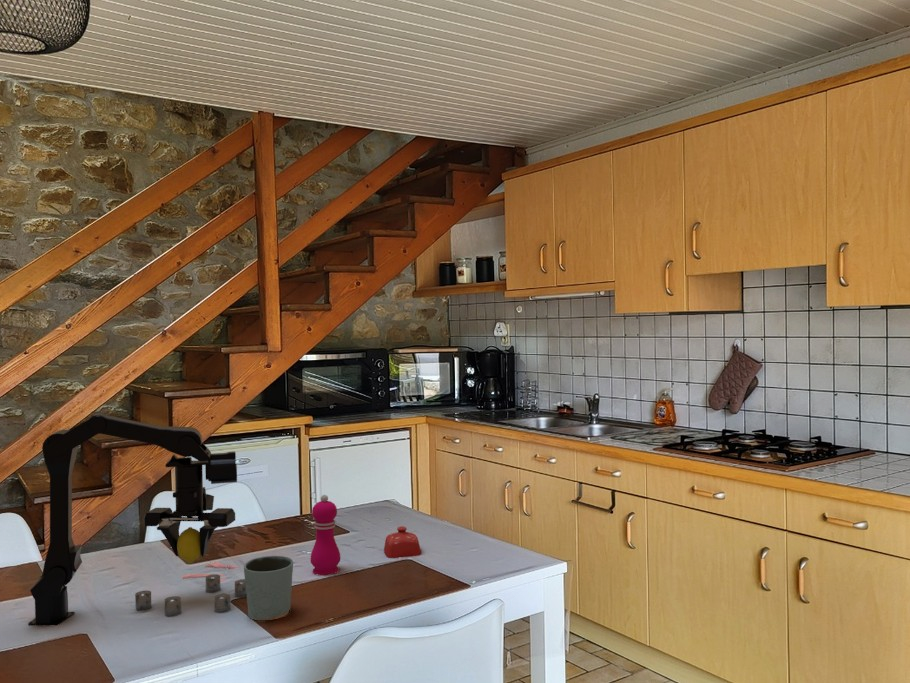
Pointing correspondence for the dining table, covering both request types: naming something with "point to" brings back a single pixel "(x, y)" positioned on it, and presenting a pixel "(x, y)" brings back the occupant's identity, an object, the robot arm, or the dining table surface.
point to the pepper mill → (325, 538)
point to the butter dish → (401, 544)
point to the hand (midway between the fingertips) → (190, 555)
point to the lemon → (189, 545)
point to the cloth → (216, 565)
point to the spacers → (175, 601)
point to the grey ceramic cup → (268, 586)
